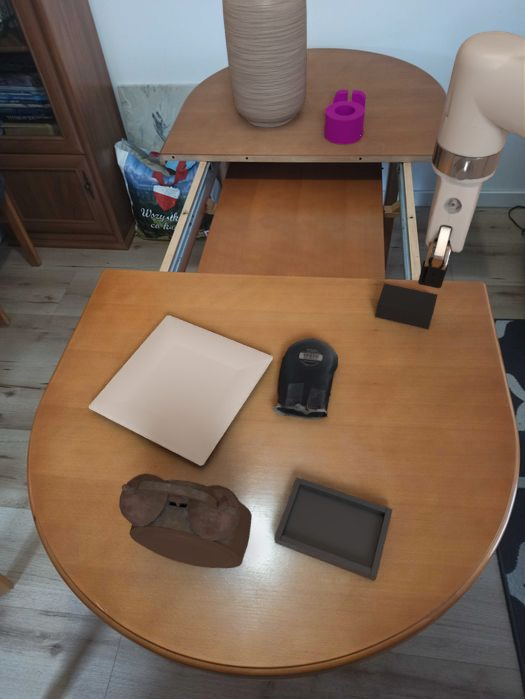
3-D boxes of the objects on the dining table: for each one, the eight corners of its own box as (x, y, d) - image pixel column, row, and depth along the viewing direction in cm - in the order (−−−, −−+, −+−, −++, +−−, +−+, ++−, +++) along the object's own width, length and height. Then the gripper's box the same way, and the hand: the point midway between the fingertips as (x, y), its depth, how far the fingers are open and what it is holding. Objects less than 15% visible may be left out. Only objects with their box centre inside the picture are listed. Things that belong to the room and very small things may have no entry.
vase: (253, 93, 147) (242, -48, 121) (317, 103, 141) (320, -43, 114) (221, 126, 136) (202, -20, 110) (289, 138, 130) (285, -14, 104)
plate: (274, 363, 85) (274, 355, 84) (204, 471, 74) (201, 465, 72) (169, 321, 93) (167, 313, 91) (91, 413, 82) (86, 406, 80)
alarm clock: (260, 526, 68) (247, 463, 53) (248, 582, 64) (230, 532, 48) (161, 507, 71) (120, 442, 55) (143, 560, 67) (93, 505, 51)
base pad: (390, 514, 68) (392, 509, 66) (374, 581, 63) (376, 577, 61) (296, 482, 72) (296, 476, 70) (274, 543, 67) (274, 538, 65)
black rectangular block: (433, 307, 91) (437, 294, 88) (428, 329, 88) (432, 316, 85) (382, 296, 93) (384, 283, 90) (375, 317, 90) (377, 304, 87)
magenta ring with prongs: (360, 145, 126) (362, 121, 121) (321, 143, 128) (322, 119, 123) (367, 114, 135) (369, 90, 130) (331, 112, 137) (332, 89, 132)
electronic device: (332, 426, 79) (341, 345, 86) (329, 412, 74) (337, 327, 81) (276, 422, 81) (288, 343, 88) (269, 408, 77) (282, 326, 84)
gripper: (492, 202, 53) (453, 310, 67) (505, 122, 63) (468, 230, 76) (421, 191, 55) (397, 298, 69) (444, 115, 65) (418, 221, 78)
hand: (434, 262), depth 72 cm, fingers open, 9 cm apart
